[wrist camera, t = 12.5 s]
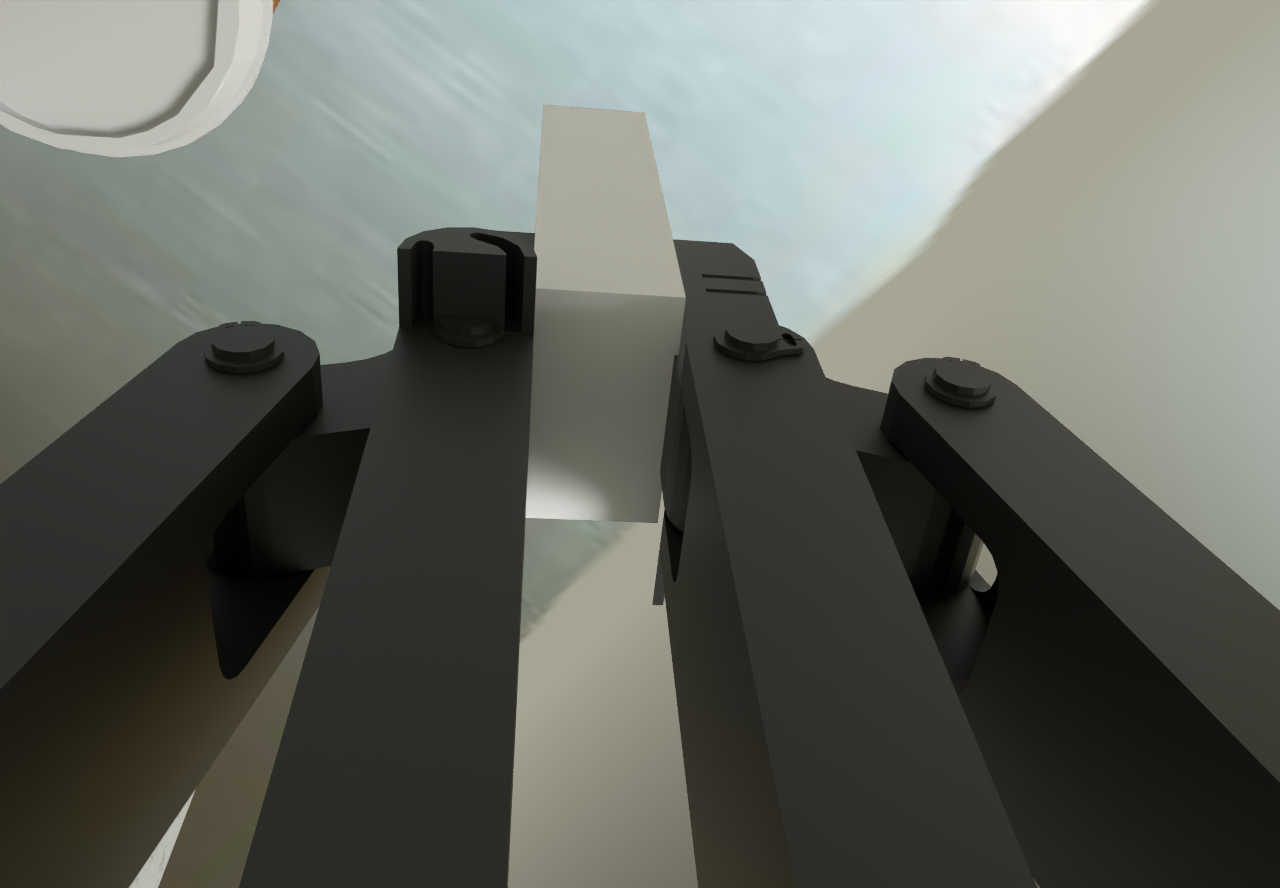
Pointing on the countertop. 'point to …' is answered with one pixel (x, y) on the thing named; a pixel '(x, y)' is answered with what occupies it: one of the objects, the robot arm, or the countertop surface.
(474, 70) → the countertop surface
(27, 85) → the disposable coffee cup
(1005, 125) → the countertop surface
